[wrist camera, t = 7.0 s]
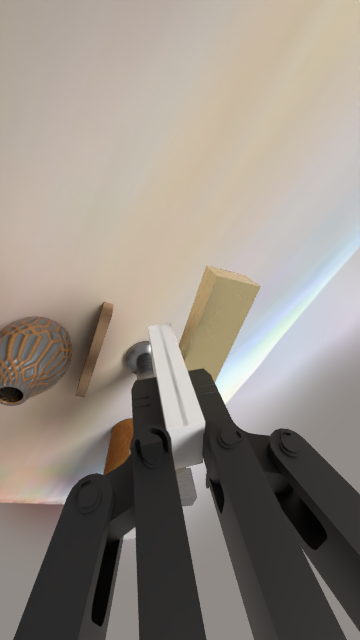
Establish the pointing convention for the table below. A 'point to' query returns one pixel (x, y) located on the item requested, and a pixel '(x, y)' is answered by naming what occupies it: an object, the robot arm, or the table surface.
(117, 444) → the disposable coffee cup
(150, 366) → the post
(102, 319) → the cradle
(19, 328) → the vase
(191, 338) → the latch
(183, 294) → the table surface
